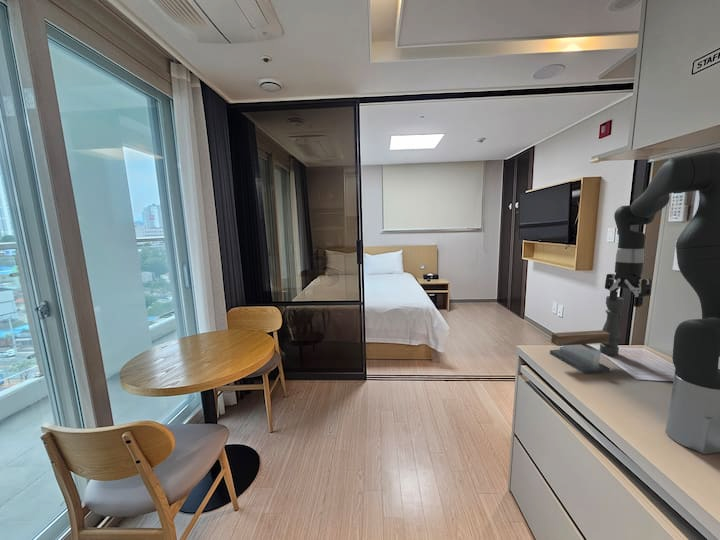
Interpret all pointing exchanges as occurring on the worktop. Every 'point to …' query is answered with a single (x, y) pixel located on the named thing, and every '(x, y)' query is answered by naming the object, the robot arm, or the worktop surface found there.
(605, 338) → the walnut beam
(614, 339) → the candle holder
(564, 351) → the stand
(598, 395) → the worktop surface
